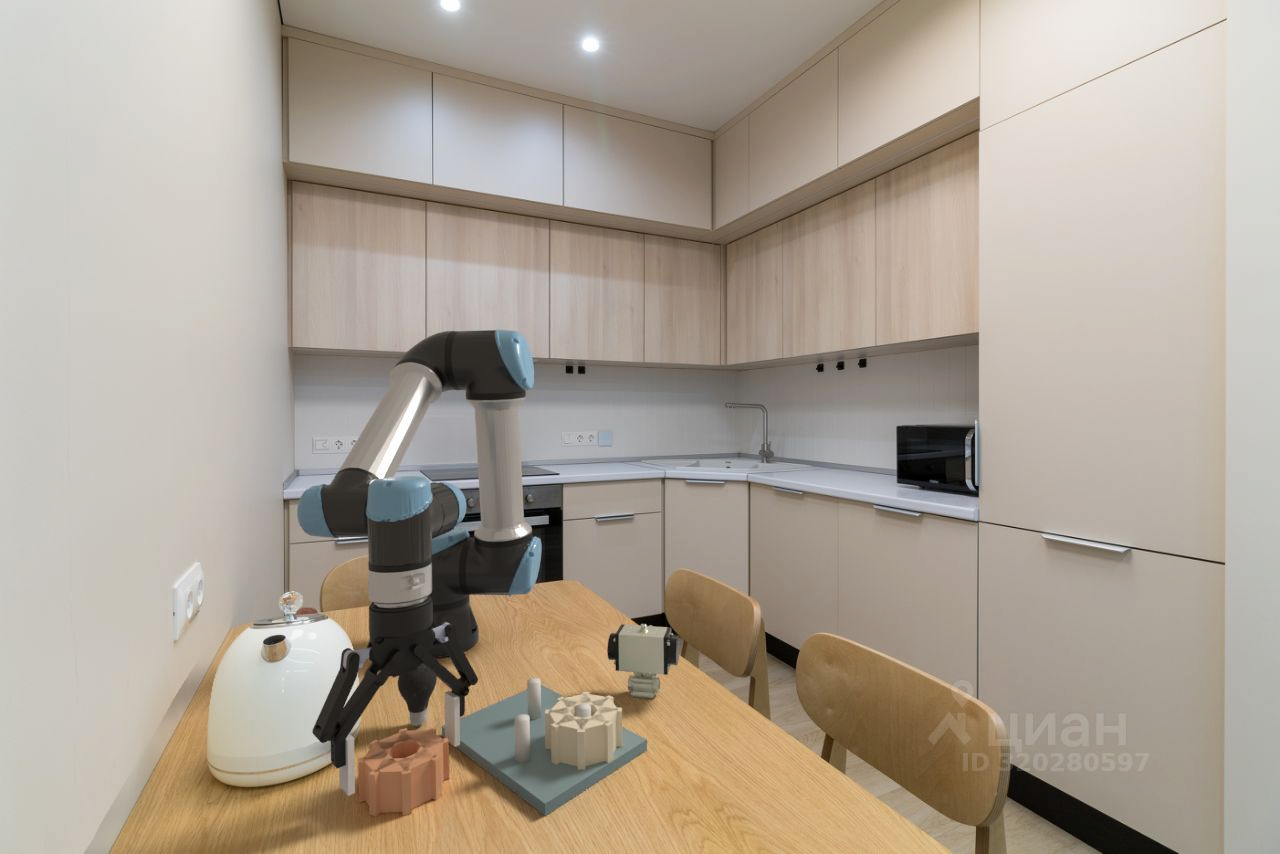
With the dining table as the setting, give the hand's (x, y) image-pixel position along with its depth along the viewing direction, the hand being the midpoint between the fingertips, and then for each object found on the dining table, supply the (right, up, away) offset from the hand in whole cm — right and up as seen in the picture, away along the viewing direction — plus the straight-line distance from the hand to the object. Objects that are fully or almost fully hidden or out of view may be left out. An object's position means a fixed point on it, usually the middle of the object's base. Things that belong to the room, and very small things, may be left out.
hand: (403, 764), depth 73 cm
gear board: (+16, -3, +10) cm, 19 cm away
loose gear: (0, -3, 0) cm, 3 cm away
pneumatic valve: (+31, -3, +25) cm, 40 cm away
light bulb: (-4, -3, +15) cm, 16 cm away
